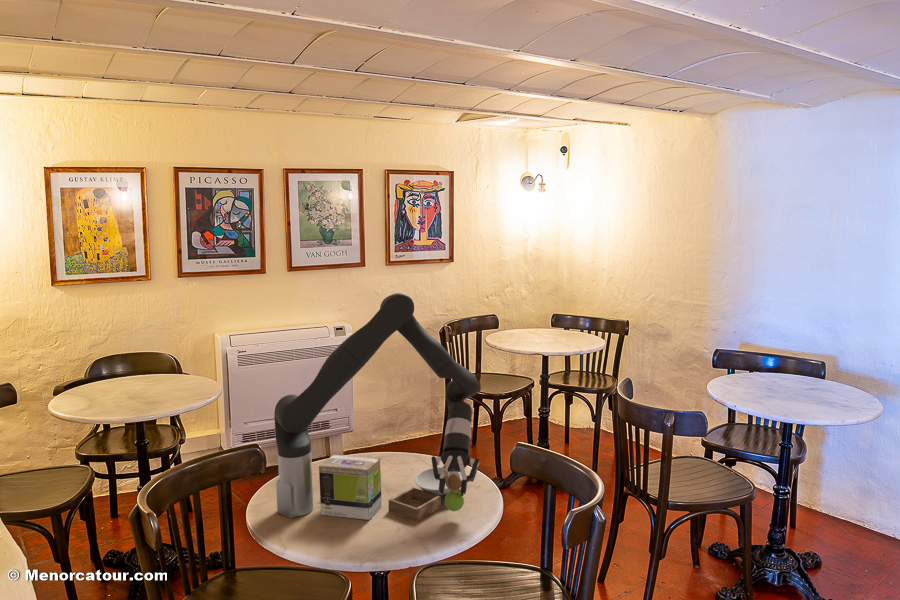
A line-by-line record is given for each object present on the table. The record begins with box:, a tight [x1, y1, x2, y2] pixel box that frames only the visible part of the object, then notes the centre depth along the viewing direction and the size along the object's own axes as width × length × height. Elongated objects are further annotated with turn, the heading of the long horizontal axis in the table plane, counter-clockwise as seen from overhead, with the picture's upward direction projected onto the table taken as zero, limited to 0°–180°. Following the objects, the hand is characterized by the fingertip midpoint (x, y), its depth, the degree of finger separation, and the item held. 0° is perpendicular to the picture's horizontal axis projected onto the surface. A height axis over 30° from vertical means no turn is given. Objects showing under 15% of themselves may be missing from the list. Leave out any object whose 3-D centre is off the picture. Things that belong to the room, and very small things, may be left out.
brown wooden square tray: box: [388, 487, 442, 522], centre depth 182 cm, size 11×11×4 cm
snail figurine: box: [442, 465, 465, 512], centre depth 175 cm, size 5×6×12 cm
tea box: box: [318, 454, 382, 521], centre depth 181 cm, size 15×10×15 cm, turn 74°
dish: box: [414, 466, 462, 496], centre depth 192 cm, size 18×14×5 cm
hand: (452, 494), depth 173 cm, fingers closed on snail figurine, 4 cm apart
